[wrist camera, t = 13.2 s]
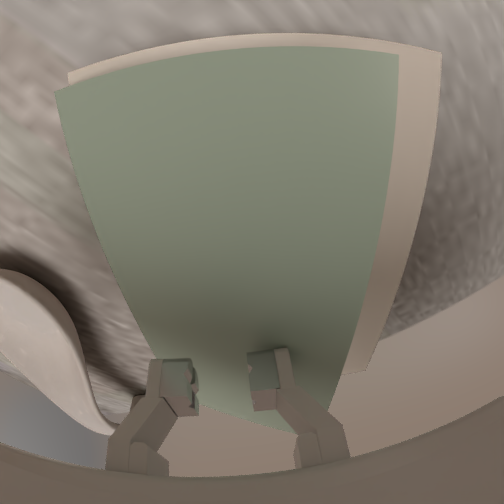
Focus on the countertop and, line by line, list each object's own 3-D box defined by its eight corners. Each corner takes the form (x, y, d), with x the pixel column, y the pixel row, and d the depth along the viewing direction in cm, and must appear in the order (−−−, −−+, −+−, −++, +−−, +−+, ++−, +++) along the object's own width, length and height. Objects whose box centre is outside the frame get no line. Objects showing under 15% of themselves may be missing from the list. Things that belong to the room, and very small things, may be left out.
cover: (394, 54, 5) (398, 54, 4) (319, 427, 16) (316, 438, 16) (71, 85, 8) (54, 92, 7) (184, 386, 19) (179, 396, 19)
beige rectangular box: (383, 45, 11) (441, 52, 7) (348, 319, 24) (365, 370, 20) (116, 62, 11) (67, 73, 7) (188, 335, 24) (184, 389, 20)
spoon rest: (-31, 274, 19) (-65, 330, 13) (20, 221, 16) (-33, 293, 11) (119, 400, 32) (111, 450, 27) (194, 387, 30) (192, 448, 24)
